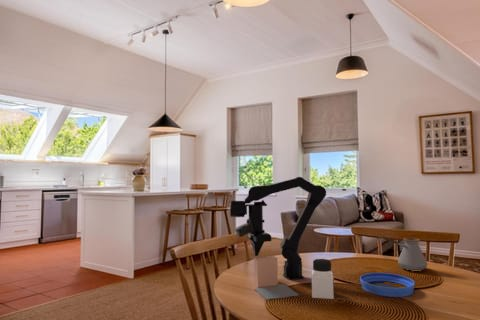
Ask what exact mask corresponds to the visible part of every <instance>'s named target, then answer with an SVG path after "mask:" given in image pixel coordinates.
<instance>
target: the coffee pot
mask: <svg viewBox="0 0 480 320" xmlns="http://www.w3.org/2000/svg"><path fill="white" fill-rule="evenodd" d="M380 238H381V239H380ZM378 239H379V241H380V242H381V241H383V240H385V241H388V242H390V243H393V244H396V245H398V246H400V247H403V248H402V250H401V252H400V255H399V258H398V259H397V263H398V265H399V266H400V267H401V268H402V269H403V268H404V269H408V270H425V269H426V268H427V267H428V262H427V260H426V258H425V255H424V254H423V252H422V249H421V247H420V245H419V243H420V241H421V239H419V238H415V237H404V238H403V241H404V244H403V243H401V242H398V241H396V240H394V239H392V238H388V237H387V236H384V235H381V236H379V238H378ZM404 269H403V270H404Z"/></svg>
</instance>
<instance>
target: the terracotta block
mask: <svg viewBox="0 0 480 320" xmlns="http://www.w3.org/2000/svg"><path fill="white" fill-rule="evenodd" d="M278 263H279V262H278V257H276V256H274V255H269V256H268V255H267V256H255V257H253V285H254V286H256V288H263V287H272V286H279V283H278V281H279V279H278V278H279V277H278V275H279V273H278V272H279V271H278V266H279V265H278Z"/></svg>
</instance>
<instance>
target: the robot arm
mask: <svg viewBox="0 0 480 320" xmlns="http://www.w3.org/2000/svg"><path fill="white" fill-rule="evenodd" d="M297 188H300V189H302V190H303V191H305V192H307V197H306V203H305V205H304V207H303V209H302V211H301V213H300V215H299V217H298V219H297V220H296V223H295V225H294V227H293V229H292V230H291V232H290V234H289V235H288V236H286V235H284V236H283V239H282V241H281V243H279V246H280V249H279V251H280V253H281V255H282V257H283V258H284V259H285V260H284V264H283V273H282V276H284V277H285V278H287V279H288V280H298V279H299V280H301V279H304V278H305V276H304V275H303V261H302V260H303V258H302V257H301V255H300V253H299V252H297V251H298V249H299V244H300V239H301V238H302V235H303V234H304V232H305V230H306V228H307V225H308V224H309V222H310V221H311V218H312V216H313V214H314V212H315V210H316V208H318V206H319V205H320V204H322V202H323V201H324V199H325V198H326V196H327V190H326V189H325V187H324V186H323V185H318V184H315V183H312V182H310V181H308V180H306V179H305V178H304V177H302V176H297V177H294V178H291V179H288V180H287V179H286V180H283V181H279V182H276V183H273V184H265V185H253V186H251V187H250V188H249V190H248V193H247V194H248V195H247V196H246V198H244V200H233V199H232V200H231V201H230V210H229V211H230V213H229V214H230V218H245V216H246V215H248V218H247V219H246V223H243V224H240V225H239V226H237V227H236V226H235V228H234V231H235V233H236V236H237V237H238V238H242V237H245V236H246V235H247V236H248V237H247V236H246V239H247V240H248V241H249V242H250V244H251V246H252V250H253V255H254V256H255V257H259V254H260V251H261V249H262V247H263V245H264V243H265V242H267V243H268V242H272V235H271V234H270V233H268V232H266V231H265V229H264V223H265V219H264V215H263V213H264V212H263V211H264V210H263V207H267V206H268V204H267V203H266V202H265V201H264V199H265V198H267V197H268V196H270V195H272V194H276V193H280V192H283V191H287V190H292V189H297ZM259 200H261V201H259ZM252 202H253V203H252Z"/></svg>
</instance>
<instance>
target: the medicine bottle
mask: <svg viewBox="0 0 480 320" xmlns="http://www.w3.org/2000/svg"><path fill="white" fill-rule="evenodd" d="M334 281H335V278H334V273H333V272H332V262H331V260H330V259H327V258H316V259H313V261H312V271H311V297H312V298H313V299H326V300H334V299H335V282H334Z"/></svg>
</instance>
